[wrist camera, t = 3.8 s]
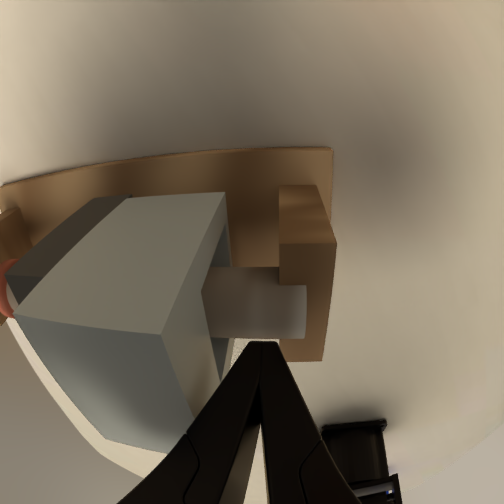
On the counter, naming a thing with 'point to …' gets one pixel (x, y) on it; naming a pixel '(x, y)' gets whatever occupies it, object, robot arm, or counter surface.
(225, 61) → the counter surface
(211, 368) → the sleeve
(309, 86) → the counter surface
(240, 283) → the wooden rail stand
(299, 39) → the counter surface
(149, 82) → the counter surface
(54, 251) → the collar
